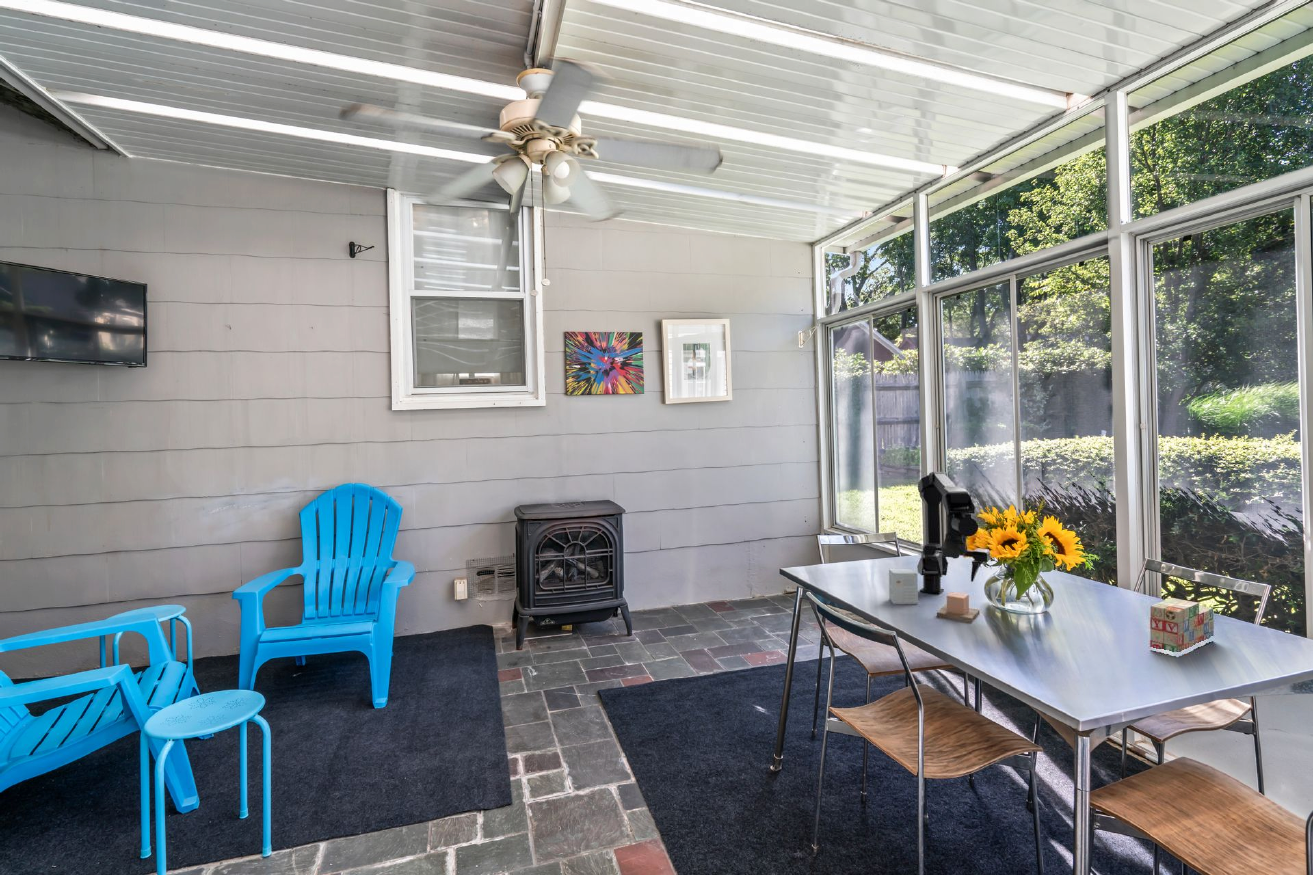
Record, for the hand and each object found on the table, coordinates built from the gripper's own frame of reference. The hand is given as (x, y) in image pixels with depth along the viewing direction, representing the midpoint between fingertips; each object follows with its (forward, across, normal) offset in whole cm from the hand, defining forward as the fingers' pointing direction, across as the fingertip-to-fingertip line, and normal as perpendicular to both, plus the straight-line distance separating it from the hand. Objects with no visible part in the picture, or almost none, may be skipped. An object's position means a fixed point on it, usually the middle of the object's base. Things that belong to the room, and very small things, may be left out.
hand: (956, 579), depth 204 cm
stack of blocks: (+11, +55, +4) cm, 57 cm away
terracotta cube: (+9, +1, -2) cm, 10 cm away
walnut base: (+11, +1, -2) cm, 12 cm away
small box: (+11, -17, +3) cm, 21 cm away
